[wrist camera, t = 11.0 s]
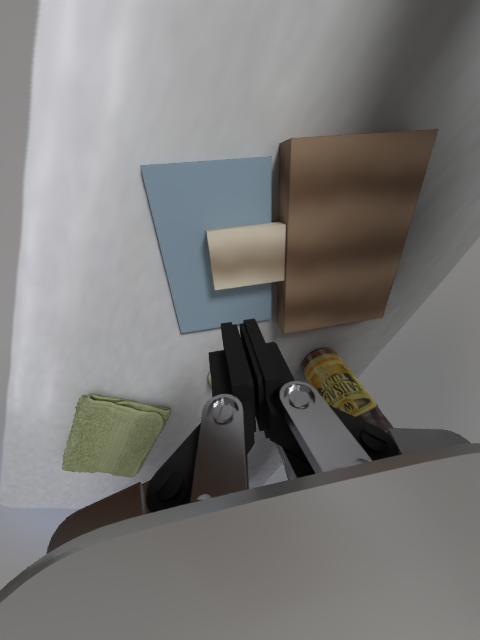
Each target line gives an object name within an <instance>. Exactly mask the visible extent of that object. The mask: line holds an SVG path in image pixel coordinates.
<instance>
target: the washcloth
mask: <svg viewBox="0 0 480 640" xmlns="http://www.w3.org/2000/svg"><path fill="white" fill-rule="evenodd" d="M75 408H76V413H75V415H74V416H75V418H74V420H73V421H74V422H73V423H74V424H73V425H72V429H71V431H70V435H69V440H68V441H67V447H66V449H65V451H64V455H63V464H62V465H63V467H62V469H63V470H66V471H72V472H76V471H77V472H90V473H95V472H103V473H110V474H112V475H116V476H124V477H134V476H135V475H136V474H138V473H139V471H140V469H141V467H142V466H143V462H144V461H145V459H146V457H147V455H148V453H149V451H150V449H151V448H152V446H153V443H154V441H156V438H157V436H158V435H159V434H160V433H161V430H162V429H163V428H164V426H165V424H166V423H165V422H166V421H167V420H168V417H169V415H170V412H171V409H170V408H166V407H160V406H152V405H146V404H141V403H137V402H135V401H134V400H132V401H130V400H126V399H120V398H113V397H104V396H99V395H95V394H89V395H88V396H86V395H82V397H81V398H80V399H79V402H78V403H77V406H76V407H75Z"/></svg>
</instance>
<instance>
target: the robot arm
mask: <svg viewBox="0 0 480 640" xmlns="http://www.w3.org/2000/svg"><path fill="white" fill-rule="evenodd" d="M221 331H222V339H223V346H224V350H221V351H215V352H209V362H210V374H211V385H212V398H211V399H210V400H209V401H207V403H206V404H205V406H204V408H203V411H202V418H201V423H200V424H199V425H198V427H197V428H196V429H195V430H194V431H193V432H192V433H191V434H190V435H189V437H188V438H187V439H186V440H185V441H184V442H183V443H182V444H181V445H180V447H179V448H178V449H177V450H176V451H175V452H174V453H173V454H172V455H171V457H170V458H169V459H168V460H167V461H166V462H165V463H164V464H163V466H162V467H161V468H160V469H159V470H158V471H157V472H156V473H155V475H154V476H153V478H152V479H151V480H150V481H148V482H145V483H143V484H141V482H138V483H136V484H134V485H132V486H130V487H128V488H125V489H123V490H121V491H119V492H117V493H115V494H112V495H110V496H108V497H106V498H104V499H102V500H99V501H97V502H95V503H93V504H91V505H89V506H86V507H84V508H82V509H80V510H78V511H76V512H74V513H73V514H71V515H70V516H68V517H67V518H66V519H65V520H64V521H63V522H62V523H61V524H60V525H59V526H58V528H57V529H56V531H55V533H54V534H53V536H52V537H51V540H50V543H49V546H48V548H47V553H46V555H45V556H43V557H42V558H40V559H39V560H37V561H36V562H34V563H33V564H32V565H30V566H29V567H27V568H26V569H25V570H24V571H22V572H21V573H20V574H19V575H17V576H16V577H15V578H14V579H13V580H11V581H10V582H9V583H8V584H7V585H6V586H5V587H4V588H3V589H1V590H0V640H480V443H470V442H469V441H468V440H467V439H465V438H464V437H462V436H461V435H459V434H456V433H454V432H452V431H448V430H442V429H441V430H440V429H404V428H389V429H388V431H384V430H382V429H381V428H379V427H377V426H375V425H373V424H371V423H368V422H366V421H364V420H362V419H359V418H357V417H355V416H353V415H350V414H348V413H346V412H344V411H341V410H339V409H337V408H335V407H332V406H330V405H328V404H327V403H326V401H325V400H324V399H323V398H322V396H321V395H320V394H319V393H318V391H317V390H316V389H315V388H314V387H313V386H311V385H310V384H308V383H305V382H302V381H295V380H294V378H293V376H292V374H291V372H290V370H289V368H288V366H287V364H286V362H285V360H284V358H283V356H282V354H281V352H280V350H279V348H278V346H277V344H276V343H275V342H271V343H265V341H264V338H263V336H262V334H261V331H260V329H259V327H258V324H257V322H256V320H255V319H247V320H243V323H240V334H239V331H238V328H237V324H234V325H232V322H227V323H221ZM240 336H241V338H240ZM255 416H256V420H257V423H258V427H259V430H260V431H263V430H264V432H265V436H266V438H270V440H271V441H273V442H274V443H276V444H278V448H279V451H280V453H281V455H282V457H283V459H284V461H285V463H286V465H287V468H288V470H289V472H290V474H291V476H292V478H293V479H292V480H287V481H283V482H279V483H275V484H270V485H266V486H261V487H257V488H253V489H249V478H248V457H247V454H248V453H249V451H250V450H251V448H252V446H253V445H254V443H255V442H254V432H256V420H255Z"/></svg>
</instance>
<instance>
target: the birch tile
mask: <svg viewBox="0 0 480 640" xmlns="http://www.w3.org/2000/svg"><path fill="white" fill-rule="evenodd" d="M206 235H207V242H208V249H209V256H210V263H211V270H212V277H213V284H214V289H215V290H221V289H228V288H235V287H242V286H249V285H256V284H263V283H270V282H277V281H284V280H285V247H286V224H284V223H282V222H272V223H262V224H253V225H244V226H235V227H226V228H217V229H208V230H206Z"/></svg>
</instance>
